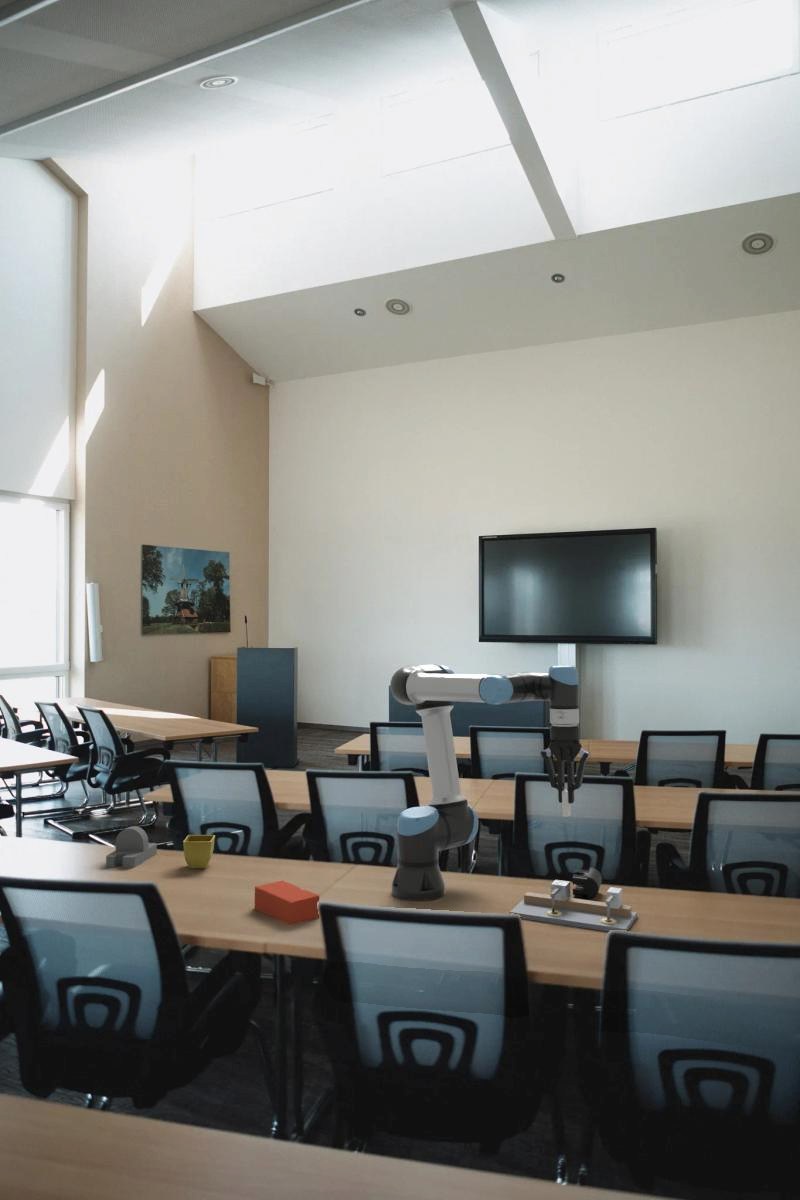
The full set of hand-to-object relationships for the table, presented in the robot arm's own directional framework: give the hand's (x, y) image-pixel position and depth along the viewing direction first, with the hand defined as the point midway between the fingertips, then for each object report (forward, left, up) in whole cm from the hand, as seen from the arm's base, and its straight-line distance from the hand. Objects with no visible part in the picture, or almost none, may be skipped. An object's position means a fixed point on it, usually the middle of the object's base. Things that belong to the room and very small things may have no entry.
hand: (566, 815), depth 230 cm
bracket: (-143, -6, -27) cm, 145 cm away
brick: (-68, -28, -27) cm, 79 cm away
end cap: (0, +20, -27) cm, 33 cm away
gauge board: (+1, +1, -26) cm, 26 cm away
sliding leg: (-3, +2, -25) cm, 25 cm away
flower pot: (-118, -3, -27) cm, 121 cm away
